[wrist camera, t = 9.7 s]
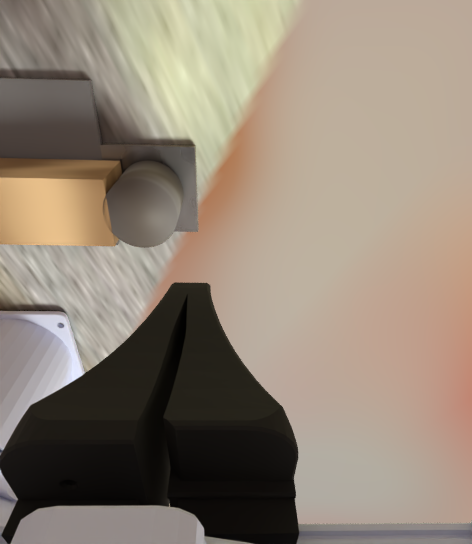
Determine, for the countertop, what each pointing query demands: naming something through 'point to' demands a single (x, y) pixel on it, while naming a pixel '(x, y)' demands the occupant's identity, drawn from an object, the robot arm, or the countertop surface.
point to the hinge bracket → (173, 157)
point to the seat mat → (48, 119)
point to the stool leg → (87, 202)
